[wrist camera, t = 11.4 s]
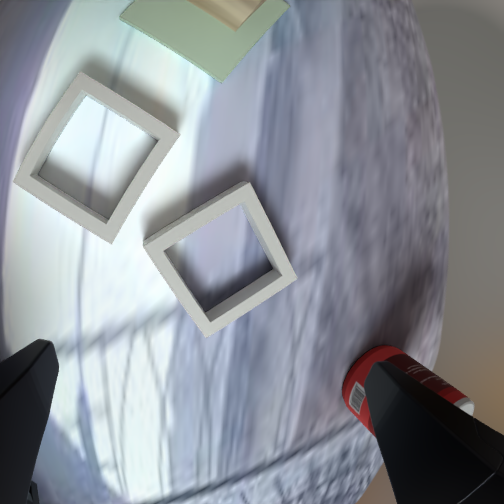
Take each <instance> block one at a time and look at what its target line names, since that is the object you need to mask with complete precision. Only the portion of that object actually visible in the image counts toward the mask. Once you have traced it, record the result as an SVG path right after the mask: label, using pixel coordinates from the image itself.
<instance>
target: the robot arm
mask: <svg viewBox="0 0 504 504" xmlns="http://www.w3.org/2000/svg"><path fill="white" fill-rule="evenodd" d="M58 372H59V363H58V359H57V355H56V352H55V348H54V345H53V343H52V342H51V341H49V340H44V339H38V340H36V341H34V342H33V343H31V344H29V345H28V346H26V347H25V348H23V349H21V350H20V351H18V352H17V353H15V354H14V355H12V356H11V357H9V358H7V359H6V360H4V361H3V362H1V363H0V504H39V497H38V490H37V484H36V483H35V482H33V481H32V480H31V479H32V475H33V471H34V467H35V463H36V459H37V455H38V452H39V448H40V444H41V441H42V438H43V434H44V431H45V427H46V424H47V421H48V417H49V413H50V408H51V403H52V399H53V394H54V389H55V385H56V381H57V376H58ZM364 391H365V395H366V399H367V403H368V408H369V412H370V417H371V421H372V425H373V429H374V433H375V436H376V439H377V442H378V445H379V448H380V451H381V454H382V457H383V460H384V463H385V466H386V469H387V472H388V476H389V479H390V482H391V485H392V488H393V492H394V495H395V498H396V502H397V504H504V435H502V434H501V433H499V432H497V431H495V430H493V429H492V428H490V427H489V426H487V425H485V424H484V423H482V422H480V421H479V420H477V419H476V418H473V416H471V415H470V414H468V413H466V412H465V411H463V410H462V409H460V408H459V407H457V406H456V405H454V404H452V403H451V402H449V401H448V400H446V399H445V398H443V397H442V396H440V395H439V394H437V393H436V392H434V391H432V390H431V389H429V388H428V387H426V386H425V385H423V384H422V383H420V382H419V381H417V380H416V379H414V378H413V377H411V376H410V375H408V374H407V373H405V372H404V371H402V370H400V369H399V368H397V367H396V366H394V365H393V364H391V363H390V362H388V361H377V362H375V363H374V364H373V365H372V367H371V369H370V371H369V373H368V375H367V377H366V379H365V382H364Z"/></svg>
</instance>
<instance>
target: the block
mask: <svg viewBox="0 0 504 504" xmlns="http://www.w3.org/2000/svg"><path fill="white" fill-rule="evenodd" d="M187 1H189V2H190V3H192V4H194V5H195V6H197V7H198V8H200V9H202V10H203V11H205V12H206V13H208V14H209V15H211V16H213V17H214V18H216V19H217V20H219V21H220V22H222V23H223V24H225V25H226V26H228V27H229V28H230V29H232V30H233V31H235V32H236V30H237V29H238V28H239V27H240V26H241V25H242V24H243V23H244V22H245V21H246V20H247V19H248V18H249V17H250V16H251V15H252V14H253V13H254V12H255V11H256V10H257V9H258V8H259V7H260V6H261V5H262V4H263V3H264V2H265V1H266V0H187Z"/></svg>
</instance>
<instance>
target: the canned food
mask: <svg viewBox="0 0 504 504" xmlns="http://www.w3.org/2000/svg"><path fill="white" fill-rule="evenodd" d="M377 361H388V362H390V363H391V364H393V365H394V366H396V367H397V368H399V369H400V370H402V371H404V372H405V373H407V374H408V375H410V376H411V377H413V378H414V379H416V380H417V381H419V382H420V383H422V384H423V385H425V386H426V387H428V388H429V389H431V390H432V391H434V392H436V393H437V394H439V395H440V396H442V397H443V398H445V399H446V400H448V401H449V402H451V403H452V404H454V405H456V406H457V407H459V408H460V409H462V410H463V411H465V412H466V413H468V414H470V415H471V416H472V414H473V411H474V403H473V402H472V401H471V400H470V399H469V398H468V397H467V396H465V395H464V394H462V393H461V392H460V391H459V390H457V389H456V388H454V387H453V386H451V385H450V384H449V383H447V382H446V381H444V380H443V379H441V378H440V377H439V376H437V375H436V374H434V373H433V372H431V371H430V370H429V369H427V368H426V367H424V366H423V365H421V364H420V363H419V362H417V361H416V360H414V359H413V358H411V357H410V356H408V355H407V354H406V353H404V352H403V351H401V350H400V349H398V348H396V347H392V346H388V345H382V346H378V347H375V348H373V349H371V350H370V351H368V352H367V353H365V354H364V355H363V356H362V357H361V358H359V359H358V360H357V361H356V363H355V364H354V365H353V366H352V368H351V369H350V371H349V372H348V374H347V376H346V378H345V381H344V384H343V389H342V396H343V399H344V401H345V404H346V406H347V407H348V409H349V410H350V411H351V412H352V413H353V414H354V415H355V416H356V417H357V418H358V419H359V420H360V421H361V422H362V424H363V425H364V426H365V427H366V428H367V429H368V430H369V431H370V432H371V433H372V434H373V435H374V436H375V433H374V429H373V425H372V421H371V417H370V412H369V408H368V403H367V399H366V395H365V391H364V382H365V379H366V377H367V375H368V373H369V371H370V369H371V367H372V365H373V364H374V363H375V362H377ZM375 437H376V436H375Z"/></svg>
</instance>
